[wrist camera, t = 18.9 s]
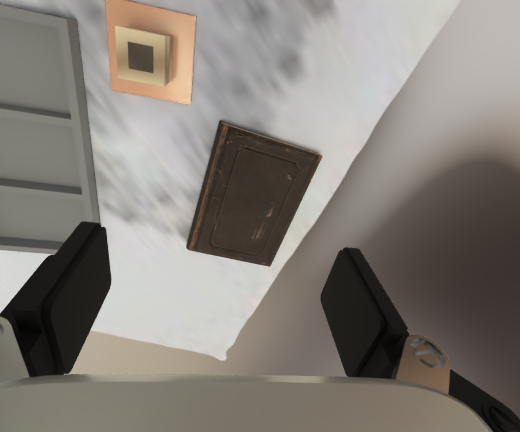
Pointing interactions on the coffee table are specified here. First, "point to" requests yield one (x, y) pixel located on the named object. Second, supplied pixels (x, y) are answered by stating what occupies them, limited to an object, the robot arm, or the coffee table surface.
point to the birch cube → (144, 56)
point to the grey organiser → (43, 133)
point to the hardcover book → (249, 195)
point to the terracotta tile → (162, 23)
